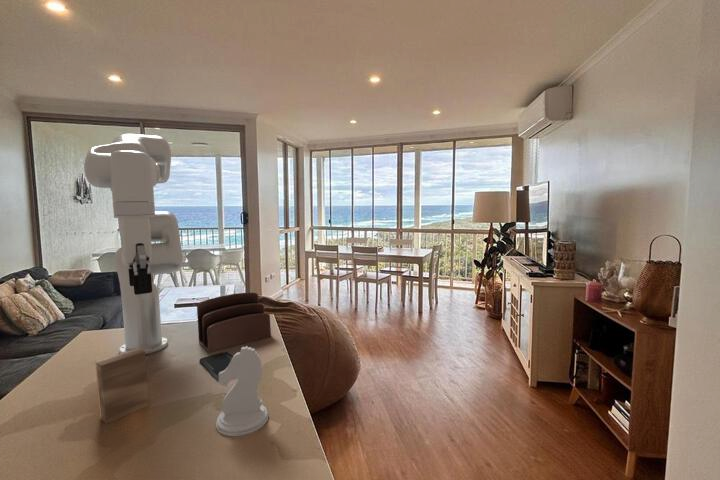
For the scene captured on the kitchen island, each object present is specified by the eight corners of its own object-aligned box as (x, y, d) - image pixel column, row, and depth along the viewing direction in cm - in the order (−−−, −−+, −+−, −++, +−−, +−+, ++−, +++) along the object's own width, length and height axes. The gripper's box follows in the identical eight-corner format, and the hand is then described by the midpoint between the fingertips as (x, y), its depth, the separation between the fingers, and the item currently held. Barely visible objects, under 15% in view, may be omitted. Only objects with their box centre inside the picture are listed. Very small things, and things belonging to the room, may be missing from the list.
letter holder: (198, 343, 112) (195, 299, 110) (258, 329, 124) (257, 289, 123) (208, 353, 104) (205, 306, 103) (271, 337, 117) (269, 294, 115)
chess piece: (222, 409, 75) (218, 340, 74) (270, 404, 77) (267, 336, 75) (210, 439, 65) (205, 360, 64) (265, 433, 67) (262, 356, 65)
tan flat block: (100, 418, 72) (95, 361, 71) (142, 400, 79) (138, 348, 77) (106, 423, 70) (101, 365, 69) (149, 405, 77) (145, 351, 76)
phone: (226, 351, 103) (248, 368, 92) (226, 354, 103) (248, 372, 92) (197, 359, 98) (217, 378, 87) (198, 363, 98) (217, 382, 87)
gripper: (111, 210, 81) (117, 284, 83) (116, 211, 67) (123, 300, 69) (149, 209, 85) (154, 280, 87) (161, 210, 72) (166, 294, 73)
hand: (140, 289), depth 78 cm, fingers open, 9 cm apart
